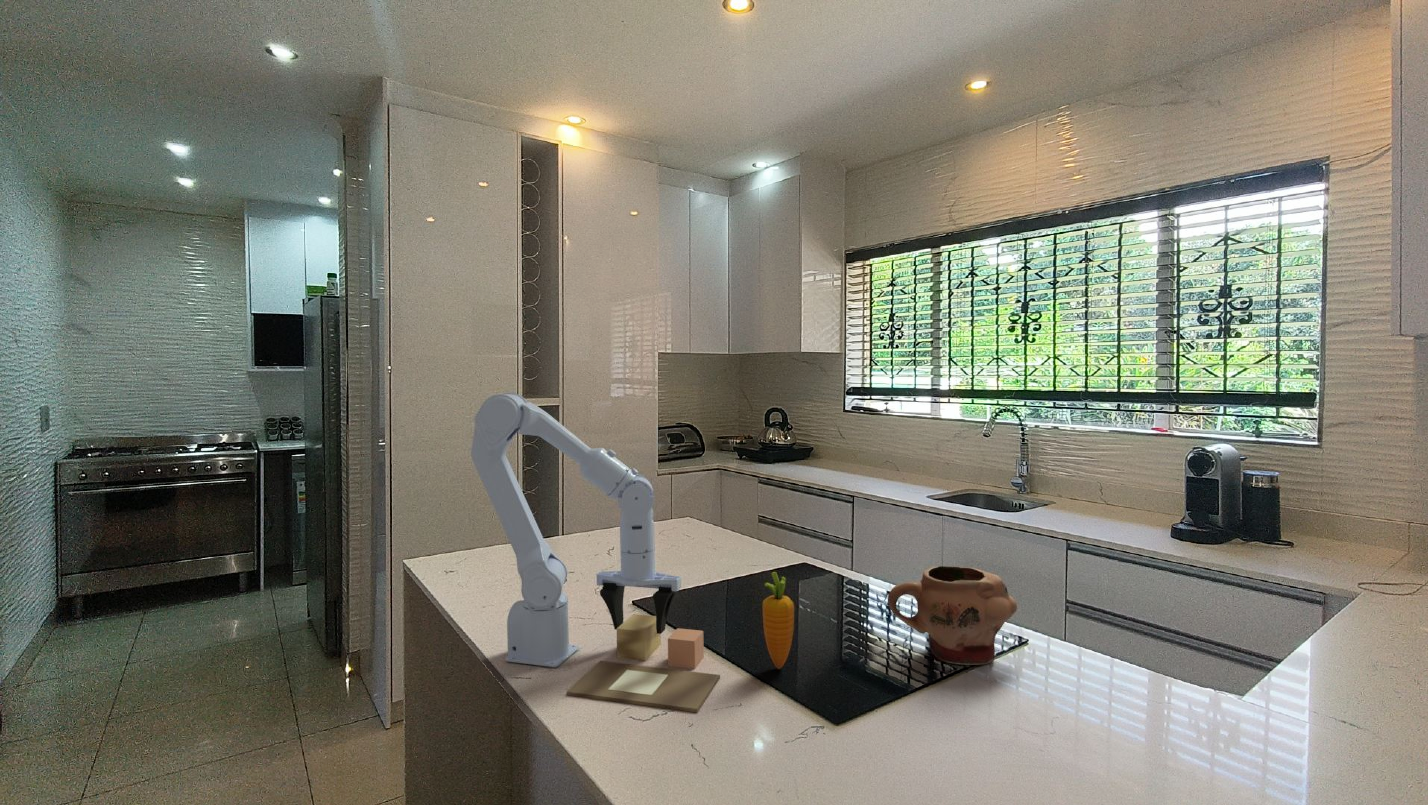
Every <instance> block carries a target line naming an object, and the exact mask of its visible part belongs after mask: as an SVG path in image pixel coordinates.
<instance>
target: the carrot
mask: <svg viewBox="0 0 1428 805" xmlns="http://www.w3.org/2000/svg"><path fill="white" fill-rule="evenodd" d="M771 577H772V580H773V583H774V584H771V582H770V583H769V582H765V583H764V587H766V588H767V589H769V590H770V591H771V592H772V594H773V595H770V596H768V597H766V598H764V600H762V623H763V624H762V625H763V633H764V639H765V643H766V648H767V651H768V654H769V656H770V659H771V660H772V661H771V662H773V664H774V667H775V668H776V669H777V670H780V669H782V667H784V664H785V663H786V661H787V660H788V656H789V653H790V651H791V646H792V642H793V636H794V631H795V630H794V628H795V625H794V624H795V604H794V601H793V600H791V598H790V597H789V596H787V595H784V592H785V588H786V581H787V580H786V578H785V577H784V576H781V580H780V579H779V577H778V574H777V572H776V571H773V572H772V573H771Z"/></svg>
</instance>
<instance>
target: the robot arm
mask: <svg viewBox="0 0 1428 805" xmlns="http://www.w3.org/2000/svg"><path fill="white" fill-rule="evenodd" d="M473 431H474V432H473V438H472V444H471V452H470V456H471V460H472V463H473V465H474V467H475V469H476V471H477V473H478V476H479V477H480V480H481V482H482V484H483V487H484V489H485V491H486V493H487V495H488V498H489V499H490V502H491V504H492V506H493V508H494V511H495V513H496V515H497V517H498V519H499V522H500V524H501V526H502V527H503V530H504V532H505V535H506V537H507V539H508V542H509V544H510V546H511V548H512V550H513V552H514V554H515V556H516V557H515V558H516V566H517V572H518V575H519V578H520V580H521V588H520V590H521V596H522V599H521V600H517V601H515V602H514V603H513V604H512V606H511V607H510V608H509V611H508V614H507V620H506V632H507V639H506V640H507V656H506V657H505V658H504V659H505V660H504V661H505V662H507V663H508V662H509V663H516V664H517V663H518V664H525V665H533V666H540V667H541V666H542V667H551V668H557V667H558V666H560V665H561V664H562V663H563V662H565V661H566V660H567V659H569V658H570V657H571V656H573V654H575V653H576V652H577V651H578V650H579V649H580V646H579V645H576V644H575V645H574V644H570V638H569V637H570V633H569V632H570V630H569V628H570V626H569V597H568V596H567V594H566V593H565V592H564V590H563V587H564V584H566V581H567V578H568V569H567V566H566V564H565V563H564V561H562V559H561V558H559V557H557V555H555V552H554V551H553V550H552V547H551V546H550V545H549V544H548V542H547V541H546V540H545V539H544V537H543V535H542V532H541V530H540V528H539V525H538V524H537V522H536V520H535V517H534V515H533V512H532V510H531V508H530V506H529V504H528V502H527V499H526V497H525V495H524V493H523V489H522V488H521V486H520V483H519V482H518V479H517V477H516V475H515V473H514V470H513V468H512V466H511V464H510V462H509V460H508V457H507V452H508V450H509V448H510V446H511V443H512V442H513V439H514V437H515V435H516V434H519V435H524V436H525V435H527V436H533V437H534V436H536V437H540V438H541V439H542V440H544V441H546V442H547V443H548V444H550V445H552V446H553V447H554V448H556V449H557V450H558V451H560V452H561V453H563V454H564V455H565V456H568V457H569V459H572V460H573V461H574V462H575V463H577V464H578V465H579V472H580V476H581V477H582V478H584V479H585V480H586V481H587V482H589V483H590V484H592V485H593V486H594V487H596V488H597V489H598V490H600V491H601V492H602V493H604V494H605V495H606V496H608V497H609V498H611V499H615V500H617V503H618V506H619V508H620V514H621V515H620V518H621V519H620V522H619V544H620V553H619V554H620V570H614V571H613V570H612V571H611V570H610V571H609V570H607V571H606V570H600V571H599V572H598V573H596V586H601V587H602V588H601V589H599V596H600V597H601V598H602V599H603V601H604V603H605V605H606V607H607V609H608V611H609V614H610V618H611V622H612V624H613V627H614V630H616V631H617V628H618V627H619V626H620V625H621V624H622V623H624V598H625V597H624V595H625V587H631V588H633V587H635V588H647V589H657V590H656V591H655V592H654V593H653V594H652V598H653V602H654V608H655V616H656V631H657V634H661V635H662V633H663V632H665V630H666V626H667V625H666V623H667V620H668V614H669V612H670V608H671V605H672V603H673V600H674V597H675V595H676V594H677V592H679V590H681V588H682V576H677V575H671V574H666V573H662V572H656V550H655V549H656V547H655V541H656V539H655V521H654V520H653V518H654V510H653V507H654V505H655V502H656V498H655V496H654V488H653V486H652V484H651V482H650V481H649V480H648V479H647V478H646V476H645V475H642V474H639V471H638V470H637V469H636V468H634V467H633V468H632V469H631V468H630V467H628V466H627V465H626V464H624V463H623V462H622V461H621V460H619V459H618V458H617V457H616V455H617V453H616V452H615V451H614V450H613V449H610V448H609V449H608V450H607V449H605V448H604V447H595V448H591V447H590V446H588V445H587V444H586V442H585V443H584V442H583V440H581V439H580V438H578V437H577V436H576V435H575V434H574V433H572V431H570V430H569V429H567V427H565V426H564V425H563V424H561V422H559V421H558V420H557V419H555V418H554V417H553V416H552V415H550V414H549V413H548V412H547V411H545V410H543V409H542V408H541V407H539V406H537V405H536V404H534V403H532V402H530V401H528V402H527V400H526V398H524V397H523V396H522V395H520V394H517V393H514V392H505V393H499V394H498V393H497V394H493V395H491V396H488V397H487V398H486V399H485V400H484V401H483V402H482V404H481V405H480V408H479V409H478V411H477V413H476V414H475V416H474V430H473Z"/></svg>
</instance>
